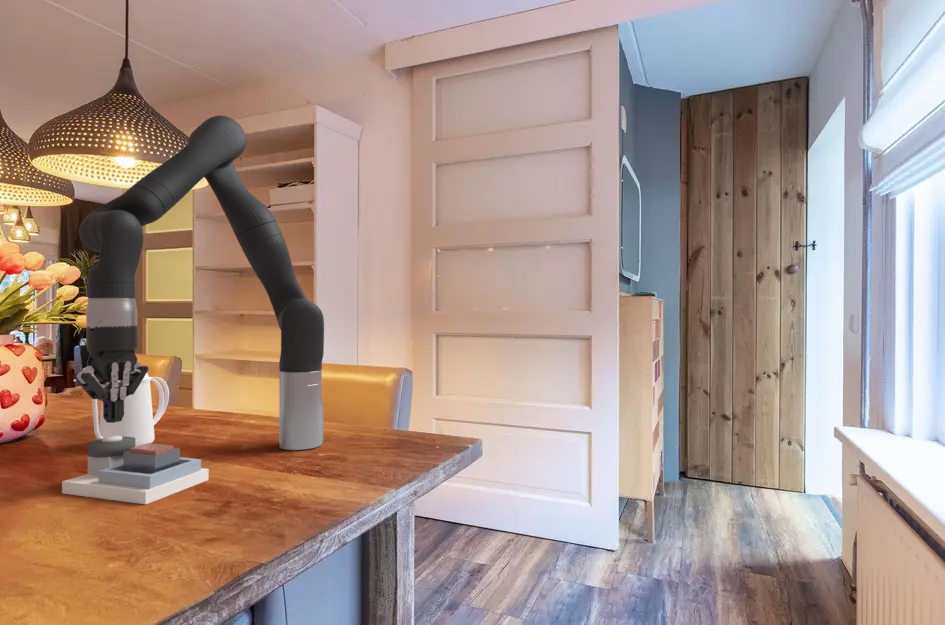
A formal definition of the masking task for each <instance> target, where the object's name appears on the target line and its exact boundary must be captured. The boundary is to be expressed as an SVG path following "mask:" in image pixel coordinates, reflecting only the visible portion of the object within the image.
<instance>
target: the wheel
mask: <svg viewBox="0 0 945 625" xmlns="http://www.w3.org/2000/svg"><path fill="white" fill-rule="evenodd" d="M133 447H135V438H134V437H122V436H109V437H104V438H102V439H95V440H92V441H90V442H88V443H87V457H88V456H89V457H95V458H102V457H113V456H120V455H123V452H126V451H130V448H133Z"/></svg>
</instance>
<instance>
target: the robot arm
mask: <svg viewBox="0 0 945 625" xmlns="http://www.w3.org/2000/svg"><path fill="white" fill-rule="evenodd" d="M246 147H247V136H246V132H245V130H244V128H243V127H242V126H241V125H240V123H238V122H237V121H236V120H235V119H233V118H231V117H229V116H227V115H213V116H211V117H209V118H208V119H205V120H204V121H203V122H202V123H201V124H199V125H198V126H197V127H196V128H195V129H194V130H193V131H192V132H191V133H190V135H189V137H188V142H187V145H186V146H184V147H183V148H182V149H181V150H180V151H178V152H177V153H176V154H175V155H173V156H172V157H170V158H168V160H166V161H164V162H163V163H161V164H160V165H159V166H157V167H156V168H154V169H153V170H151V171H150V172H148V173H147V174H146V175H144V176H143V177H142V178H141V179H139V180H138V181H137V182H136V183H134V184H133V185H132V186H131V187H129V188H128V189H127V190H126V191H125V192H124V193H122V194H120V195H119V196H117V197H116V198H113V199H112V200H110V201H108V202H106V203H105V204H103V205H101V206H99V207H98V208H96V209H95V210H93V211H92V212H90V213H88V215H87V216H86V217H85V218H84V219H83V220H82V221H81V223H80V225H79V227H78V228H79V229H78V236H79V239H80V241H81V243H82V244H83V245H84V246H85V247H86V248H88V250H91V251H93V252H96V253H97V252H98V253H99V257H98V262H97V263H96V264H95V265H93V266H91V267H90V269H89V270H88V274H87V305H86V309H85V310H86V311H85V312H86V313H85V314H86V315H85V316H86V318H85V320H86V321H85V322H86V324H85V325H86V326H85V327H86V328H85V329H86V330H85V331H86V351H87V352H88V354H89V355H88V359H87V362H86V367H84V368H83V370H81V371H80V372H75V373H74V374H73V380H76V381H75V382H77V384H78V385H79V386H80V387H81V388H82V389H83V390H84V391H85V392H86V394H87V395H88V396H89V397H90V398H91V400H92V399H97V401H99V400H100V401H101V403H102V402H103V417H104V420H106V422H108V423H114V422H119V421H122V417H123V416H124V399H125V398H126V397H127V396H129V395H133V394H134V393H135V391H136V389H137V388H138V386H139V385H140V383H141V381H142V380H143V378H144V376H145V375H146V373H148V371H149V367H148V366H147V365H142V364H141V363H139V362H138V357H137V355H136V350H137V349H138V347H139V344H138V343H139V342H138V340H139V339H138V336H139V334H138V330H139V329H138V307H137V303H136V302H137V301H136V272H137V269H138V267H139V264H140V259H141V254H142V251H143V245H144V232H143V228H142V227H143V226H146V225H149V224H152V223H155V222H157V221H159V220H160V219H161V218H163V216H165V214H166V213H168V212H169V211H170V210H171V209H173V208H174V207H175V206H176V205H177V204H178V203H179V202H180V201H181V200H182V199H183V198H184V197H185V196H186V195H187V194H188V193H190V191H191V190H192V189H194V188H195V186H196V185H197V184H199V182H201V181H202V179H204V178H205V180H206V182H207V183H208V185H209V186H210V188H211V190H212V192H213V194H214V196H215V197H216V199H217V201H218V203H219V204H220V207H221V209H222V210H223V212H224V215H225V216H226V219H227V221H228V223H229V224H230V227H231V228H232V232H233V233H234V236H235V238H236V240H237V242H238V244H239V246H240V248H241V250H242V252H243V254H244V256H245V257H246V259H247V261H248V263H249V265H250V266H251V269H252V270H253V271H254V273H255V275H256V277H257V278H258V279H259V281H260V282H261V284H262V286H263V288H264V289H265V291H266V294H267V296H268V299H269V301H270V304H271V307H272V309H273V311H274V312H273V313H274V314H275V315H274V316H275V317H276V320H277V324H278V327H279V329H280V357H279V361H278V362H279V365H278V366H279V367H278V369H279V370H278V371H279V373H278V374H279V375H278V376H279V378H278V380H279V382H278V383H279V386H278V387H279V388H278V390H279V393H278V394H279V396H278V397H279V398H278V399H279V403H278V404H279V405H278V406H279V407H278V408H279V410H278V411H279V413H278V414H279V418H278V419H279V420H278V422H279V423H278V424H279V425H278V426H279V427H278V429H279V430H278V431H279V432H278V434H279V435H278V436H279V438H278V439H279V443H278V444H279V449H281V450H286V451H287V450H288V451H303V450H309V449H310V450H311V449H315V448H317V447H320V446H321V445H322V443H323V442H324V401H323V399H322V396H323V395H322V394H323V393H322V391H323V390H322V389H323V388H322V386H323V384H322V383H323V382H322V380H323V378H322V374H323V373H322V370H323V369H322V368H323V358H324V351H325V350H324V349H325V348H324V346H325V344H324V343H325V318H324V315H323V312H322V310H321V308H320V307H319V306H318V305H317V304H315V303H314V302H313V301H310V300H309V299H308V297H307V296H306V294H305V293H304V291H303V288H302V287H301V285H300V283H299V282H298V278H297V276H296V274H295V272H294V267H293V264H292V260H291V255H290V252H289V248H288V245H287V243H286V240H285V237H284V235H283V232H282V231H281V228H280V227H279V225H278V223H277V221H276V218H275V216H274V215H273V213H272V212H271V210H269V208H268V207H267V206H266V205H265V204H263V202H261V201H260V200H259V199H258V198H257V197H256V196H254V195H253V194H252V193H251V192H250V191H249V190H248V189H247V187H246V185H244V183H243V182H242V180H241V178H240V176H239V174H238V172H237V169H236V167H235V165H234V161H235V160H237V159H238V158H240V156H241V155H242V154H243V153H244V151H245V149H246ZM118 381H120V382H118ZM107 382H108V383H107ZM108 391H109V392H108Z"/></svg>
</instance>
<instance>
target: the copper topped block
mask: <svg viewBox="0 0 945 625" xmlns="http://www.w3.org/2000/svg"><path fill="white" fill-rule="evenodd" d="M180 455H181V448H178V447H174V445H171V444H158V443H148V444H144V445H140V446H136V447H133V448H130V451H126V452H123V471H126V472H135V473H144V474H153V473H156V472H159V471H162V470H165V469H168V468H171V467H174V466H177V465H180V457H181V456H180Z"/></svg>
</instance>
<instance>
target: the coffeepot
mask: <svg viewBox="0 0 945 625" xmlns="http://www.w3.org/2000/svg"><path fill="white" fill-rule="evenodd" d="M151 381H152V382H153V383H154V384H155V386H156V388H157V390H158V397H159V398H158V400H159V402H158V407H157V411H156V413H155V414H153V404H152V403H153V402H152V390H151ZM73 382H77V381H76V380H75V379H73ZM118 382H120V381H118ZM107 383H108V382H107ZM161 384H162V385H161ZM108 392H109V391H108ZM169 399H170V389H169V386H168V383H167V382H166V381H165V379H163V378H161V377H159V376H150V375H149V373H148V372H147V373H146V375H145V376H144V378H143V380H142V381H141V383H140V385H139V386H138V388H137V389H136V391H135V393H134V394H133V395H129V396H127V397H126V398H125V399H124V416H123V417H122V421H119V422H114V423H108V422H106V420H104V417H103V402H102V401H101V406H100V415H99V413H98V412H99V410H98V399H92V398H91V406H92V418H93V419H92V421H93V430H94V431H93V432H94V435H95V438H96V440H98V439H102V438H104V437H109V436H122V437H134V438H135V447H136V446H140V445H144V444H148V443H151V444H153V442H154V441H155V428H154V426H155V425H156V424H157V423H158V422H159V421H160V419H162V417H163V415H164V413H165V412H166V411H167V410H166V409H167V407H168V404H169ZM153 415H154V416H153ZM99 416H100V417H99Z"/></svg>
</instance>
